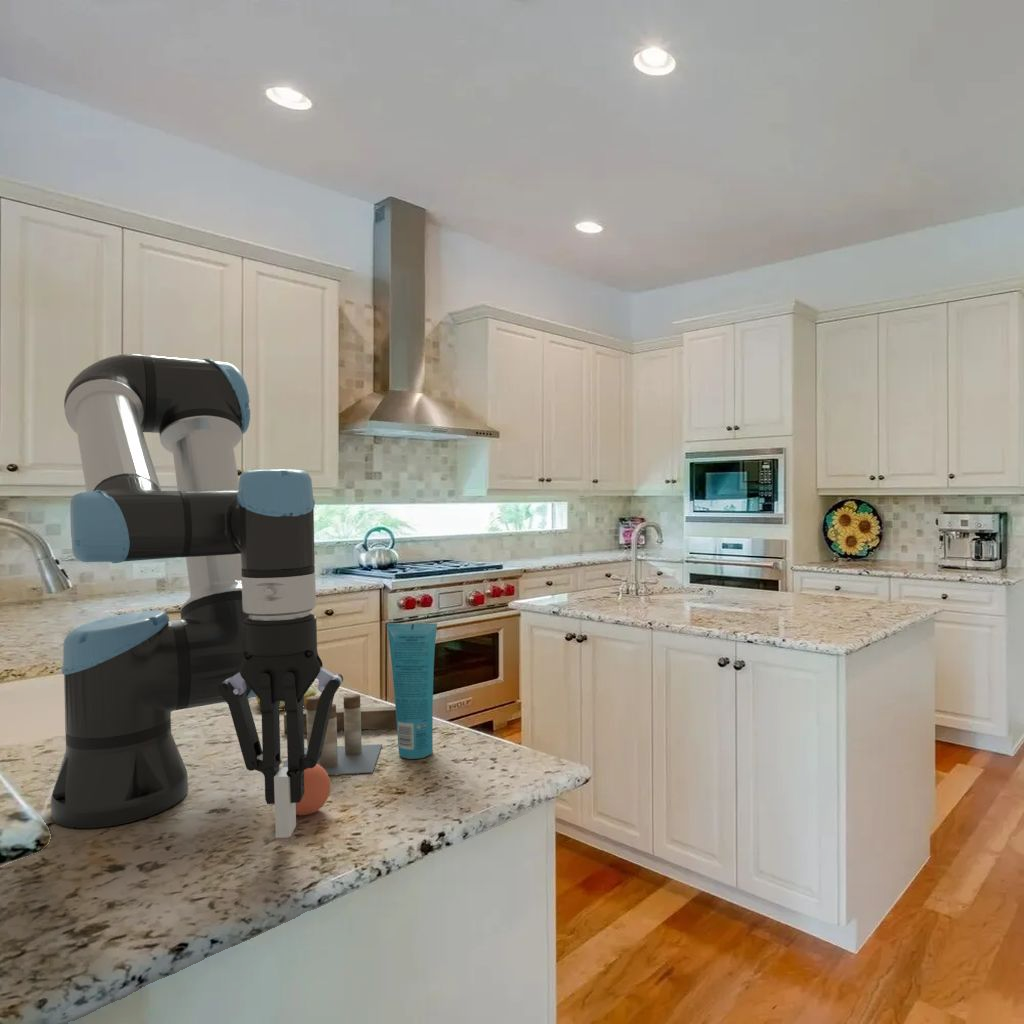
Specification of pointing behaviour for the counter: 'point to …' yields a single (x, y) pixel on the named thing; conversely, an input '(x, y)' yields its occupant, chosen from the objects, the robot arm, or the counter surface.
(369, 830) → the counter surface
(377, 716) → the back rail
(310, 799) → the ball
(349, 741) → the rear pin left
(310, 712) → the peg
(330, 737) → the front pin
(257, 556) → the robot arm
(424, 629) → the tube
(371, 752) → the plate
